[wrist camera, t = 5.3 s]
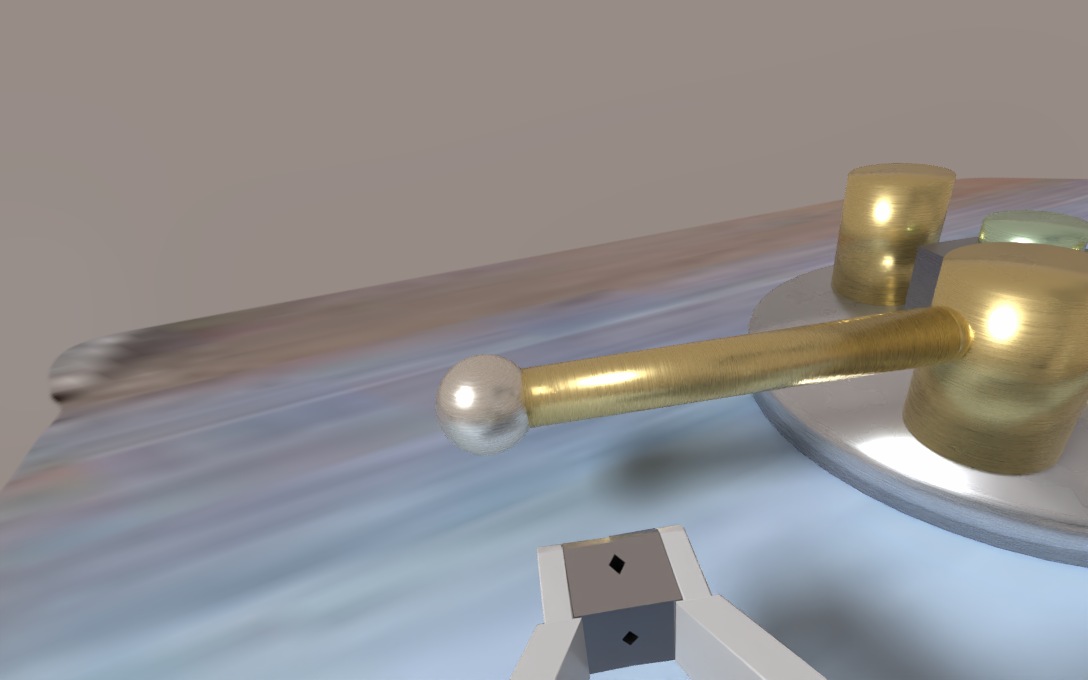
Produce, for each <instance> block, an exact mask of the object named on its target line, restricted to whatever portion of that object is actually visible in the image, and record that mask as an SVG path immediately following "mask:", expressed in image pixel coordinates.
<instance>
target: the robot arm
mask: <svg viewBox="0 0 1088 680" xmlns="http://www.w3.org/2000/svg"><path fill="white" fill-rule="evenodd" d="M562 546H563V549H562ZM563 554H564V555H563ZM537 558H538V568H539V577H540V587H541V597H542V606H543V616H544V623H543V624H538V625H537V626H536V628H535V630H534V632H533V634H532V636H531V638H530V640H529V642H528V644H527V646H526V648H525V650H524V652H523V654H522V656H521V658H520V660H519V662H518V664H517V666H516V668H515V670H514V672H513V674H512V676H511V678H510V680H589V679H590V674H594V673H599V672H604V671H609V670H614V669H619V668H624V667H629V666H634V665H642V664H649V663H656V662H663V661H670V660H675V662H676V663H677V665H678V666H679V667H680V668H681V669H682V670H683V671H684V672H685V673H686V674H687V676H688V677H689V678H690V679H691V680H827V679H826V678H825V677H824V676H822V675H821V674H820V673H819V672H817V671H816V670H815V669H813V668H812V667H811V666H810V665H808V664H807V663H806V662H805V661H803V660H802V659H801V658H800V657H798V656H797V655H796V654H794V653H793V652H792V651H791V650H789V649H788V648H787V647H786V646H784V645H783V644H782V643H781V642H779V641H778V640H777V639H775V638H774V637H773V636H772V635H770V634H769V633H768V632H767V631H765V630H764V629H763V628H762V627H760V626H759V625H758V624H756V623H755V622H754V621H753V620H751V619H750V618H749V617H748V616H746V615H745V614H744V613H743V612H741V611H740V610H739V609H737V608H736V607H735V606H734V605H732V604H731V603H730V602H729V601H727V600H726V599H725V598H724V597H722V596H721V595H720V594H718V595H712V594H711V591H710V589H709V587H708V584H707V582H706V579H705V577H704V575H703V572H702V570H701V567H700V565H699V563H698V560H697V558H696V555H695V553H694V551H693V548H692V546H691V543H690V541H689V539H688V536H687V534H686V531H685V529H684V528H683V527H682V526H681V525H675V526H668V527H662V528H657V529H655V528H653V529H647V530H642V531H636V532H631V533H625V534H619V535H614V536H609V537H608V538H600V539H593V540H586V541H578V542H571V543H563V544H557V545H550V546H544V547H538V548H537ZM564 560H565V561H564ZM565 567H566V568H565Z"/></svg>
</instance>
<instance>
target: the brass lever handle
mask: <svg viewBox="0 0 1088 680" xmlns="http://www.w3.org/2000/svg"><path fill="white" fill-rule="evenodd" d="M913 368H914V370H913V374H912V378H911V381H910V385H909V389H908V393H907V396H906V400H905V404H904V408H903V412H902V418H903V422H904V424H905V426H906V428H907V429H908V431H909V432H910V433H911V434H912V435H913V436H914V437H915V438H916V439H917V440H918V441H919V442H920V443H922V444H923V445H925V446H926V447H927V448H929V449H930V450H932V451H934V452H936V453H937V454H939V455H941V456H943V457H945V458H947V459H950V460H952V461H955V462H957V463H960V464H963V465H966V466H969V467H972V468H976V469H980V470H985V471H990V472H996V473H1004V474H1028V473H1035V472H1039V471H1043V470H1046V469H1048V468H1050V467H1052V466H1053V465H1055V464H1056V463H1057V462H1058V460H1059V459H1060V457H1061V455H1062V453H1063V450H1064V448H1065V446H1066V444H1067V442H1068V440H1069V438H1070V436H1071V434H1072V432H1073V429H1074V427H1075V425H1076V423H1077V421H1078V419H1079V417H1080V415H1081V413H1082V411H1083V408H1084V406H1085V404H1086V402H1087V400H1088V252H1085V251H1081V250H1076V249H1071V248H1066V247H1060V246H1054V245H1046V244H1037V243H1024V242H989V243H979V244H972V245H966V246H963V247H959V248H956V249H954V250H952V251H950V252H949V253H947V254H946V255H945V257H944V258H943V262H942V266H941V270H940V273H939V277H938V281H937V285H936V288H935V292H934V296H933V299H932V303H931V306H928V307H922V308H915V309H909V310H902V311H896V312H889V313H883V314H876V315H869V316H863V317H856V318H850V319H843V320H837V321H830V322H824V323H817V324H810V325H804V326H797V327H791V328H784V329H778V330H771V331H765V332H758V333H751V334H745V335H738V336H732V337H725V338H719V339H712V340H706V341H699V342H692V343H686V344H679V345H673V346H666V347H660V348H653V349H647V350H640V351H633V352H627V353H620V354H614V355H607V356H601V357H594V358H588V359H581V360H575V361H568V362H561V363H555V364H548V365H542V366H535V367H529V368H522V369H521V368H520V367H519V366H517V365H516V364H515V363H513V362H512V361H510V360H508V359H506V358H503V357H500V356H497V355H489V354H483V355H476V356H472V357H469V358H466V359H464V360H462V361H460V362H459V363H457V364H456V365H455V366H453V367H452V368H451V369H450V370H449V371H448V372H447V374H446V375H445V376H444V378H443V379H442V381H441V383H440V385H439V387H438V391H437V394H436V400H435V411H436V416H437V421H438V423H439V426H440V428H441V430H442V431H443V433H444V434H445V436H446V437H447V438H448V439H449V441H451V442H452V443H453V444H454V445H455V446H457V447H458V448H460V449H462V450H464V451H466V452H469V453H472V454H476V455H494V454H498V453H501V452H504V451H506V450H508V449H510V448H512V447H514V446H515V445H516V444H517V443H519V442H520V441H521V440H522V439H523V438H524V436H525V435H526V434H527V432H528V431H529V429H530V428H534V427H541V426H547V425H553V424H560V423H566V422H573V421H579V420H586V419H592V418H598V417H605V416H611V415H618V414H624V413H630V412H637V411H643V410H650V409H656V408H663V407H669V406H675V405H682V404H688V403H695V402H701V401H707V400H714V399H720V398H727V397H733V396H739V395H746V394H752V393H759V392H765V391H772V390H778V389H784V388H791V387H797V386H804V385H810V384H816V383H823V382H829V381H836V380H842V379H849V378H855V377H861V376H868V375H874V374H881V373H887V372H893V371H900V370H906V369H913Z"/></svg>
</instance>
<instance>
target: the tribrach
mask: <svg viewBox="0 0 1088 680" xmlns="http://www.w3.org/2000/svg"><path fill="white" fill-rule="evenodd" d="M955 178H956V174H955V173H954V172H953V171H951V170H949V169H946V168H942V167H938V166H932V165H925V164H912V163H911V164H910V163H891V164H890V163H889V164H877V165H869V166H864V167H860V168H857V169H854V170H852V171H851V172H850V173H849V175H848V181H847V187H846V193H845V199H844V205H843V212H842V218H841V224H840V230H839V236H838V242H837V249H836V255H835V261H834V265H833V266H829V267H825V268H821V269H817V270H814V271H811V272H808V273H805V274H803V275H800V276H797V277H795V278H793V279H791V280H789V281H787V282H784V283H783V284H781V285H780V286H778V287H777V288H775V289H773V290H772V291H771V292H770V293H768V294H767V295H766V296H765V297H764V298H763V299H762V300H761V301H760V302H759V304H758V305H757V307H756V308H755V309H754V311H753V314H752V316H751V319H750V322H749V332H748V334H751V333H758V332H765V331H771V330H778V329H784V328H791V327H797V326H804V325H810V324H817V323H824V322H830V321H837V320H843V319H850V318H856V317H863V316H869V315H876V314H883V313H889V312H896V311H902V310H909V309H915V308H922V307H928V306H931V303H932V299H933V296H934V292H935V288H936V285H937V281H938V277H939V273H940V270H941V266H942V262H943V258H944V257H945V255H946V254H947V253H949V252H950V251H952V250H954V249H956V248H959V247H963V246H966V245H972V244H979V243H989V242H1024V243H1037V244H1046V245H1054V246H1060V247H1066V248H1071V249H1076V250H1081V251H1085V252H1088V249H1085V248H1086V246H1087V243H1088V222H1087V221H1085V220H1082V219H1079V218H1076V217H1073V216H1069V215H1064V214H1059V213H1052V212H1044V211H1028V210H1017V211H1003V212H997V213H993V214H990V215H988V216H986V217H985V218H984V220H983V224H982V227H981V230H980V234H979V237H973V238H967V239H960V240H953V241H947V242H940V243H939V240H940V236H941V232H942V228H943V225H944V221H945V217H946V213H947V209H948V205H949V202H950V198H951V194H952V190H953V186H954V182H955ZM913 370H914V368H913V369H906V370H900V371H893V372H887V373H881V374H874V375H868V376H861V377H855V378H849V379H842V380H836V381H829V382H823V383H816V384H810V385H804V386H797V387H791V388H784V389H778V390H772V391H765V392H759V393H752V394H753V397H754V399H755V400H756V402H757V404H758V405H759V407H760V408H761V410H762V412H763V413H764V415H765V416H766V417H767V418H768V420H769V421H770V422H771V423H772V424H773V425H774V426H775V428H776V429H777V430H778V431H779V432H780V433H781V434H782V435H783V436H784V437H785V438H786V439H787V440H788V441H789V442H791V443H792V444H793V445H794V446H795V447H796V448H797V449H798V450H799V451H801V452H802V453H803V454H804V455H806V456H807V457H808V458H810V459H811V460H812V461H814V462H815V463H817V464H818V465H819V466H821V467H822V468H823V469H825V470H826V471H828V472H829V473H830V474H832V475H834V476H836V477H837V478H839V479H841V480H842V481H844V482H846V483H847V484H849V485H851V486H852V487H854V488H856V489H857V490H859V491H861V492H862V493H864V494H866V495H868V496H870V497H872V498H874V499H876V500H878V501H880V502H882V503H884V504H886V505H888V506H890V507H892V508H894V509H896V510H898V511H900V512H902V513H905V514H907V515H910V516H912V517H915V518H917V519H920V520H922V521H924V522H927V523H929V524H932V525H934V526H937V527H939V528H942V529H944V530H946V531H949V532H952V533H955V534H958V535H961V536H964V537H967V538H970V539H973V540H977V541H980V542H983V543H986V544H989V545H992V546H995V547H998V548H1002V549H1006V550H1010V551H1014V552H1018V553H1022V554H1025V555H1029V556H1033V557H1037V558H1041V559H1045V560H1049V561H1054V562H1060V563H1065V564H1071V565H1076V566H1082V567H1087V568H1088V400H1087V402H1086V404H1085V406H1084V408H1083V411H1082V413H1081V415H1080V417H1079V419H1078V421H1077V423H1076V425H1075V427H1074V429H1073V432H1072V434H1071V436H1070V438H1069V440H1068V442H1067V444H1066V446H1065V448H1064V450H1063V453H1062V455H1061V457H1060V459H1059V460H1058V462H1057V463H1056V464H1055V465H1053V466H1052V467H1050V468H1048V469H1046V470H1043V471H1039V472H1035V473H1028V474H1004V473H996V472H990V471H985V470H980V469H976V468H972V467H969V466H966V465H963V464H960V463H957V462H955V461H952V460H950V459H947V458H945V457H943V456H941V455H939V454H937V453H936V452H934V451H932V450H930V449H929V448H927V447H926V446H925V445H923V444H922V443H920V442H919V441H918V440H917V439H916V438H915V437H914V436H913V435H912V434H911V433H910V432H909V431H908V429H907V428H906V426H905V424H904V422H903V418H902V412H903V408H904V404H905V400H906V396H907V393H908V389H909V385H910V381H911V378H912V374H913Z"/></svg>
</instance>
